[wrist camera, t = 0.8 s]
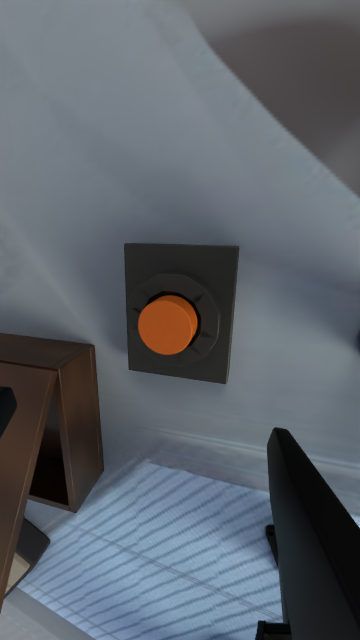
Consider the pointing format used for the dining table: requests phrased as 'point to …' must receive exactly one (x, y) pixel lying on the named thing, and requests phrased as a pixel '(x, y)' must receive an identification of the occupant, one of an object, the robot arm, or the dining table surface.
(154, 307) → the button
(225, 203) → the dining table surface
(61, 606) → the dining table surface
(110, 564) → the dining table surface
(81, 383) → the wooden box
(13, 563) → the calculator
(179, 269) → the control block
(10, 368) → the lid
